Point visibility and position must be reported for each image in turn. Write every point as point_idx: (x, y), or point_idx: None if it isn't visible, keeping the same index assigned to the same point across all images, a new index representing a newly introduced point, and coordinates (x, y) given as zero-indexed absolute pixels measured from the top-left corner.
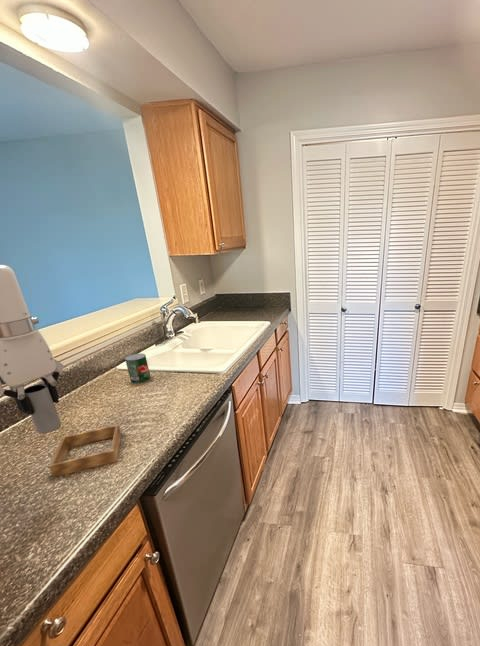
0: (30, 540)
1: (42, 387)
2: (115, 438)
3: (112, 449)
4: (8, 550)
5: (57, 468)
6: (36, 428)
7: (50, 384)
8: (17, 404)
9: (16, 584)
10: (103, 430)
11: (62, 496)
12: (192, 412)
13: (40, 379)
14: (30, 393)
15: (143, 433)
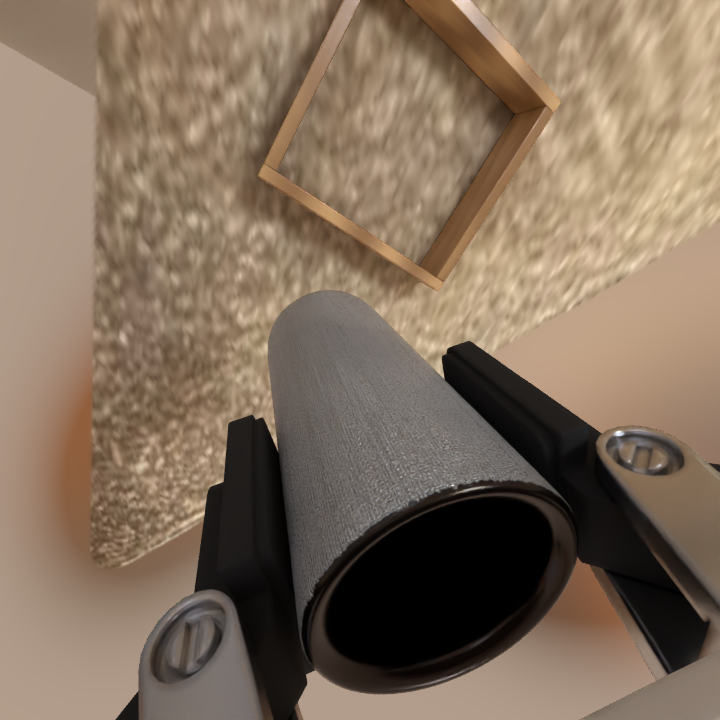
0: (146, 421)
1: (529, 507)
2: (486, 215)
3: (440, 281)
4: (96, 416)
5: (279, 190)
6: (268, 362)
7: (598, 568)
8: (204, 545)
9: (108, 515)
10: (509, 72)
11: (248, 315)
12: (693, 227)
13: (661, 530)
14: (363, 681)
15: (554, 196)
